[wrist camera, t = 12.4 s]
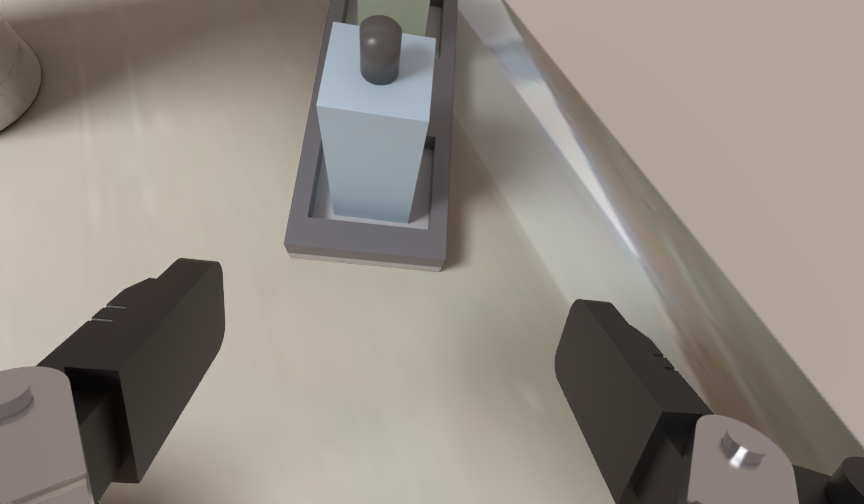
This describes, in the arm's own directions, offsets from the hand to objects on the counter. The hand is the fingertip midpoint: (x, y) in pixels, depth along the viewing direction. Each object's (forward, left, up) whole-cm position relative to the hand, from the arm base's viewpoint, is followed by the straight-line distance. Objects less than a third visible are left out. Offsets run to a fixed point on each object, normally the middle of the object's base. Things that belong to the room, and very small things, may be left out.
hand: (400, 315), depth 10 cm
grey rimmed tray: (-1, +18, -15) cm, 24 cm away
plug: (-1, +11, -15) cm, 19 cm away
